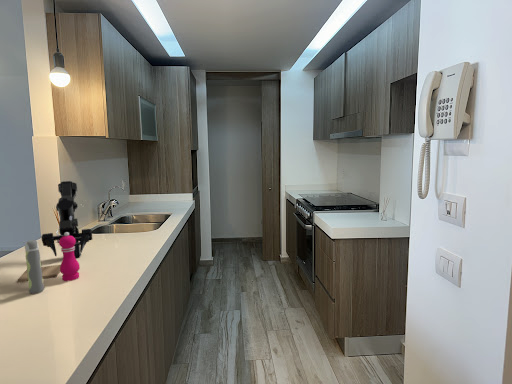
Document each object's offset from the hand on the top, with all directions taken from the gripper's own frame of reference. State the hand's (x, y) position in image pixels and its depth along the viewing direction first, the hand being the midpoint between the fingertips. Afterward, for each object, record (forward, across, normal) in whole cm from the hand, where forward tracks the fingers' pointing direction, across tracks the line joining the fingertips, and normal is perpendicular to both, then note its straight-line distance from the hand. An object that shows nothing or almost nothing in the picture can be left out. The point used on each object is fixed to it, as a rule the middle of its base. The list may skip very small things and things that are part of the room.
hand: (68, 254), depth 137 cm
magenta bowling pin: (+8, 0, +8) cm, 11 cm away
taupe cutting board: (-1, -12, +16) cm, 20 cm away
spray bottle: (+14, -11, +1) cm, 18 cm away
